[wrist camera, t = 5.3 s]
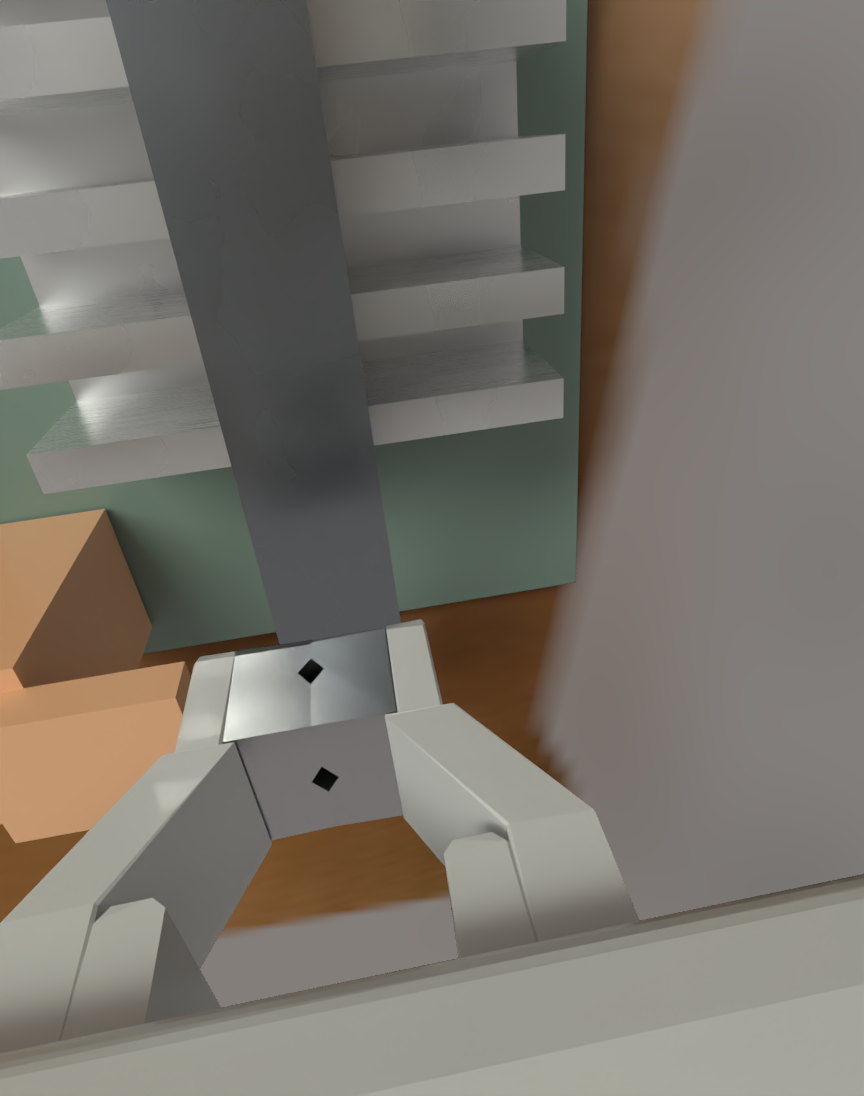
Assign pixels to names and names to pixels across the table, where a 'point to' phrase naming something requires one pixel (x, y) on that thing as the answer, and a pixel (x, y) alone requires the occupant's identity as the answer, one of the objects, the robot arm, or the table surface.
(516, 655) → the table surface
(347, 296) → the strap
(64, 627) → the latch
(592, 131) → the table surface
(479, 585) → the board
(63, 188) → the heatsink
